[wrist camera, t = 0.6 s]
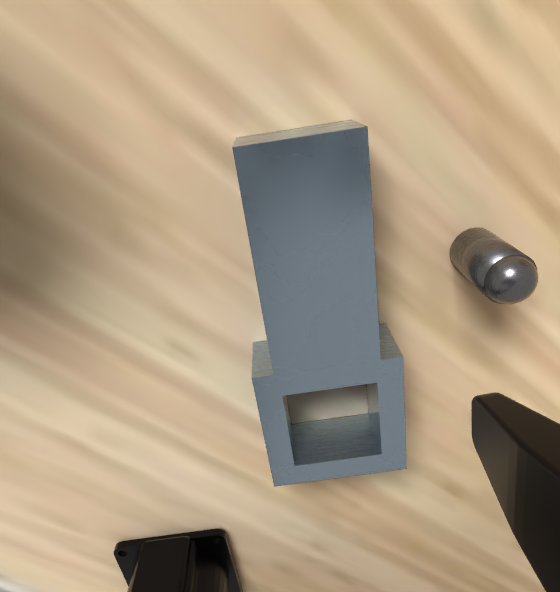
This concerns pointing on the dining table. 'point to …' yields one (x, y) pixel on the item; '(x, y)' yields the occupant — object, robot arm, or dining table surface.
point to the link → (319, 301)
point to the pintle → (494, 266)
